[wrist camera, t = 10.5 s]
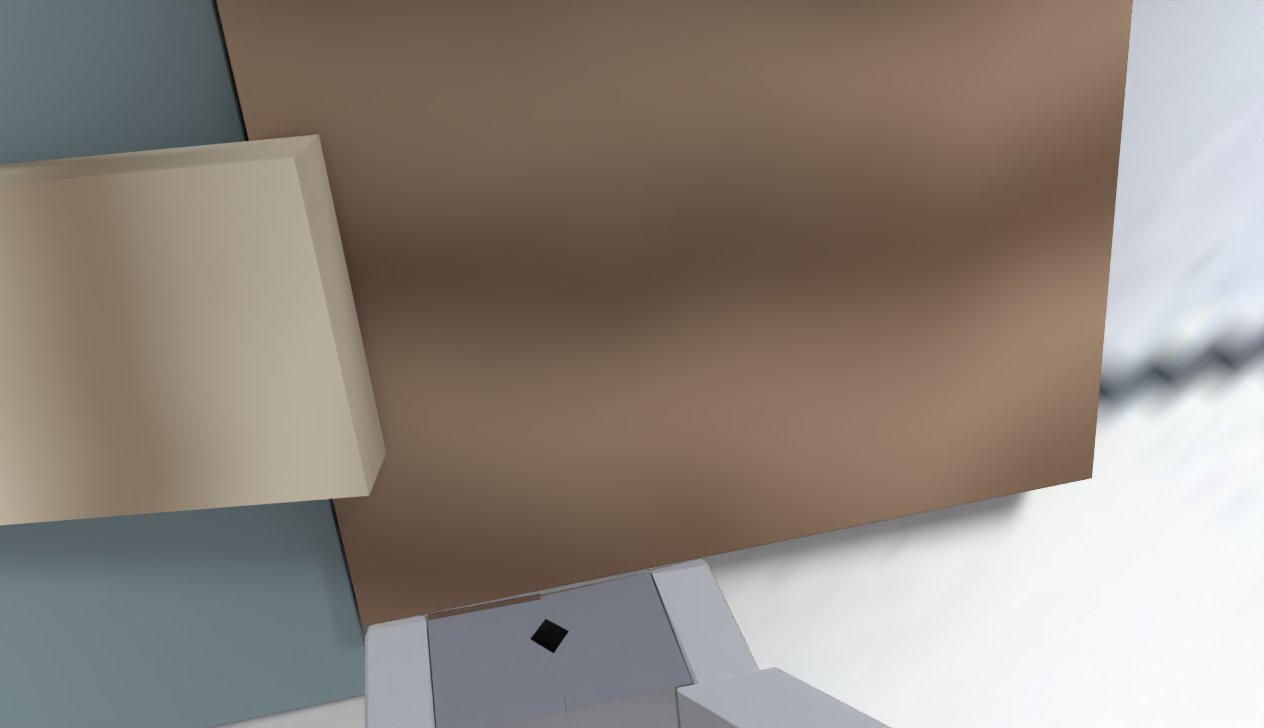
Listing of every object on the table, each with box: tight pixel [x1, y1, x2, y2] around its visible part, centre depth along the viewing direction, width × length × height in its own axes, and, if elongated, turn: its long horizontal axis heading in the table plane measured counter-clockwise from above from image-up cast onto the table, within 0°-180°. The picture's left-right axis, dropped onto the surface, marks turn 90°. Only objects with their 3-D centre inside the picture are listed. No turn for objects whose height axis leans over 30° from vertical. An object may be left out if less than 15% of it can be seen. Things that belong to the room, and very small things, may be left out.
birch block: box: [0, 134, 386, 525], centre depth 20 cm, size 9×6×2 cm, turn 96°
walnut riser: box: [216, 0, 1133, 626], centre depth 22 cm, size 14×16×2 cm
